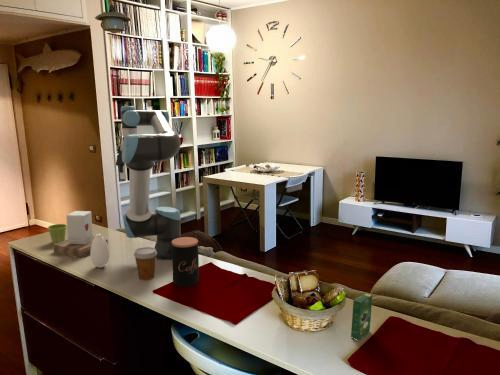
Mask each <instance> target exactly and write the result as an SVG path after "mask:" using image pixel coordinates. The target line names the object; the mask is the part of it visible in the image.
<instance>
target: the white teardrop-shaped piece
mask: <svg viewBox="0 0 500 375" xmlns="http://www.w3.org/2000/svg"><path fill="white" fill-rule="evenodd" d="M94 237H95V238H94V240H93V242H92V245H91V251H90V254H89V255H90V258H91V262H92V263H93V265H94V266H96V267H97V268H99V269H100V268H103V267H105V266H106V265H107V264H108V262H109V260H110V249H109V244H108V245H107V242H106V241H105V239H106V238H104V236H103V234H101V233H100V229H99V228H98V229H97V234H95V236H94Z"/></svg>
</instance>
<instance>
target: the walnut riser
mask: <svg viewBox="0 0 500 375" xmlns="http://www.w3.org/2000/svg"><path fill="white" fill-rule="evenodd" d="M95 237H96V236H93V240H94V238H95ZM104 239H105V241H106V242H107V245H108V246H109V240H108V239H107V238H104ZM93 240H91V241H90V242H88V243H87V244H85V245H84V244H69V243H68V239H65V241H62V242H59V243H56V244H54V243H53V244H52V245H53V253H56V254H59V255H65V256H70V257H75V258H78V259H82V258H85V257H87V256H88V255H89V256H90V255H91V254H90V251H91V245H92V242H93Z"/></svg>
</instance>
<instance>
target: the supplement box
mask: <svg viewBox="0 0 500 375" xmlns="http://www.w3.org/2000/svg"><path fill="white" fill-rule="evenodd" d="M92 219H93V216H92V211H91V210H90V211H89V210H87V211H85V210H74V211H72V212H70V213H68V214H67V215H66V225H67V227H66V230H67V240H68V243H69V244H84V245H85V244H87V243H88V242H90V241H91V240H93V237H94V233H93V220H92Z"/></svg>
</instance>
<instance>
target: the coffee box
mask: <svg viewBox="0 0 500 375" xmlns="http://www.w3.org/2000/svg"><path fill="white" fill-rule="evenodd" d="M352 302H353V303H352V316H351V317H352V318H351V328H350V329H351V333H350V338H351V337H353V338H355V339H357V340H359V339H360V338H361V337H362V338H364V337H365V336H366V335H367V334H368V332H369V331H370V330H371V319H372V317H371V316H372V304H373V294H371V293H367V292H364V293H363V294H361V295H359V296H358V297H356V298H355V299H353V301H352ZM370 332H371V331H370ZM370 332H369V333H370ZM365 334H366V335H365ZM364 335H365V336H364ZM363 336H364V337H363ZM362 338H361V339H362ZM361 339H360V340H361ZM360 340H359V341H360Z"/></svg>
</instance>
